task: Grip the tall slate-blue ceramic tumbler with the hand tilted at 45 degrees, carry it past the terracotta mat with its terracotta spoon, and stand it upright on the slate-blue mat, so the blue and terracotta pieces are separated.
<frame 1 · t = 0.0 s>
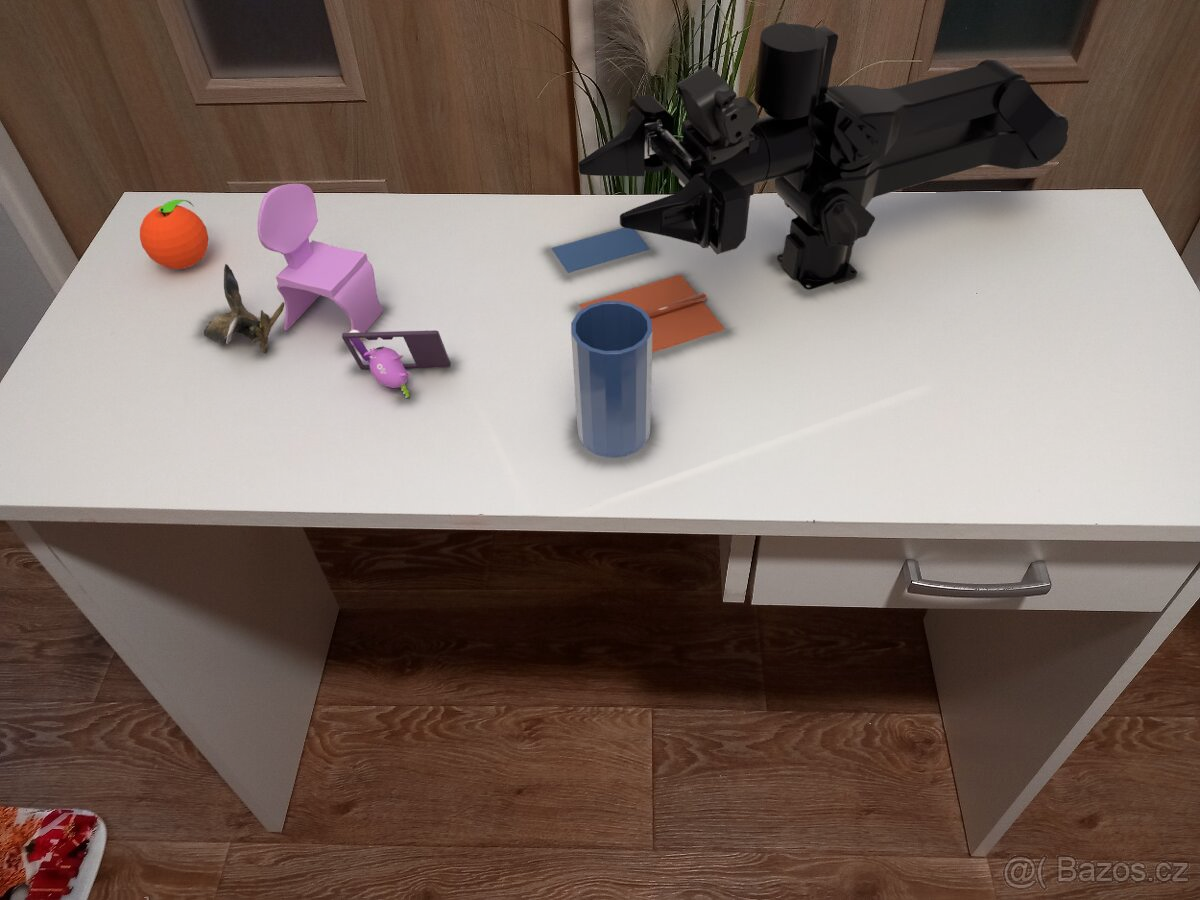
hand: (598, 193, 80), 17 cm above the table, tool horizontal, fingers open, 9 cm apart
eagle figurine: (247, 335, 94), on the table
toy chair: (336, 322, 95), on the table
terracotta mat: (650, 320, 94), on the table
clementine: (189, 261, 103), on the table
pink creature with frame: (403, 383, 89), on the table
blue tumbler: (614, 433, 83), on the table
terracotta spoon: (650, 316, 93), resting on terracotta mat
blue mat: (600, 252, 102), on the table
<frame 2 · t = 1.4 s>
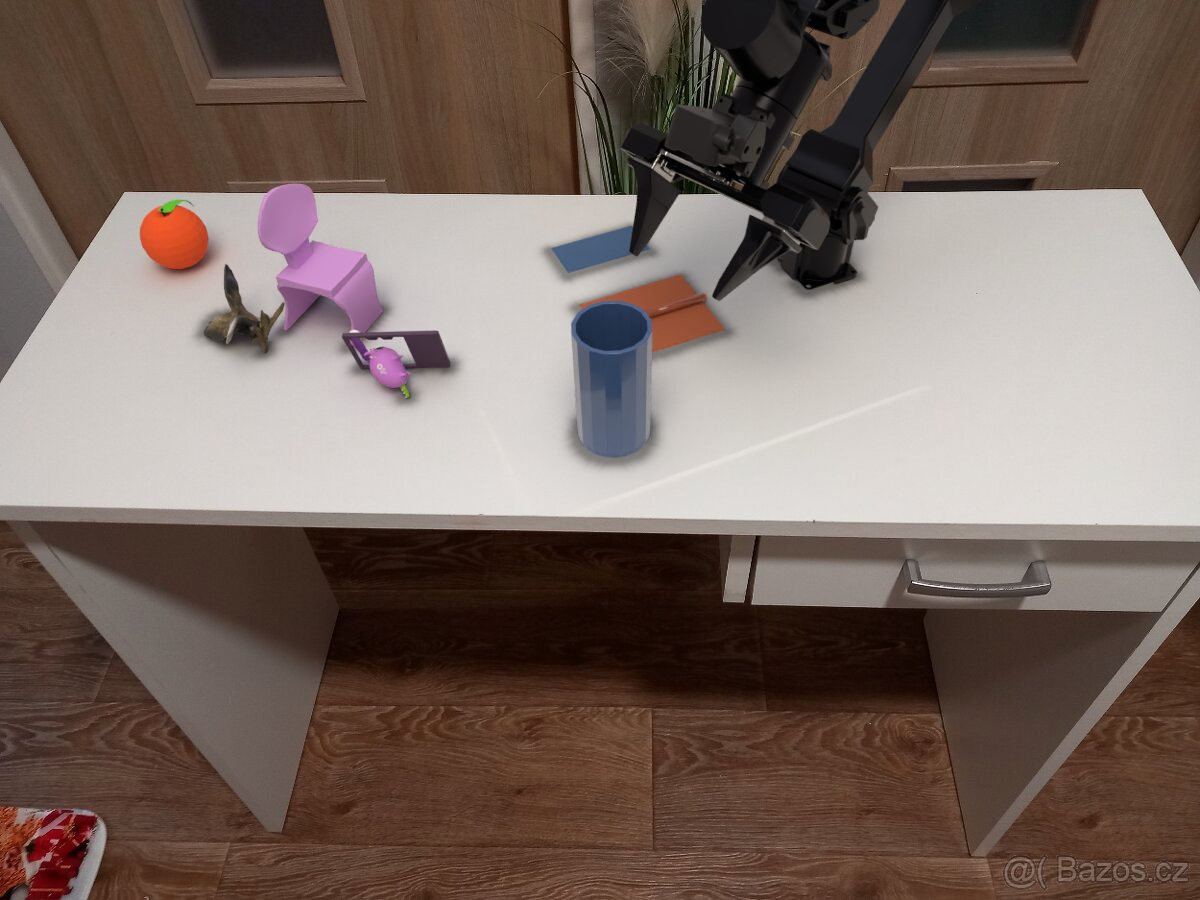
hand: (673, 276, 77), 13 cm above the table, tool tilted 45°, fingers open, 9 cm apart
nothing on the table moved.
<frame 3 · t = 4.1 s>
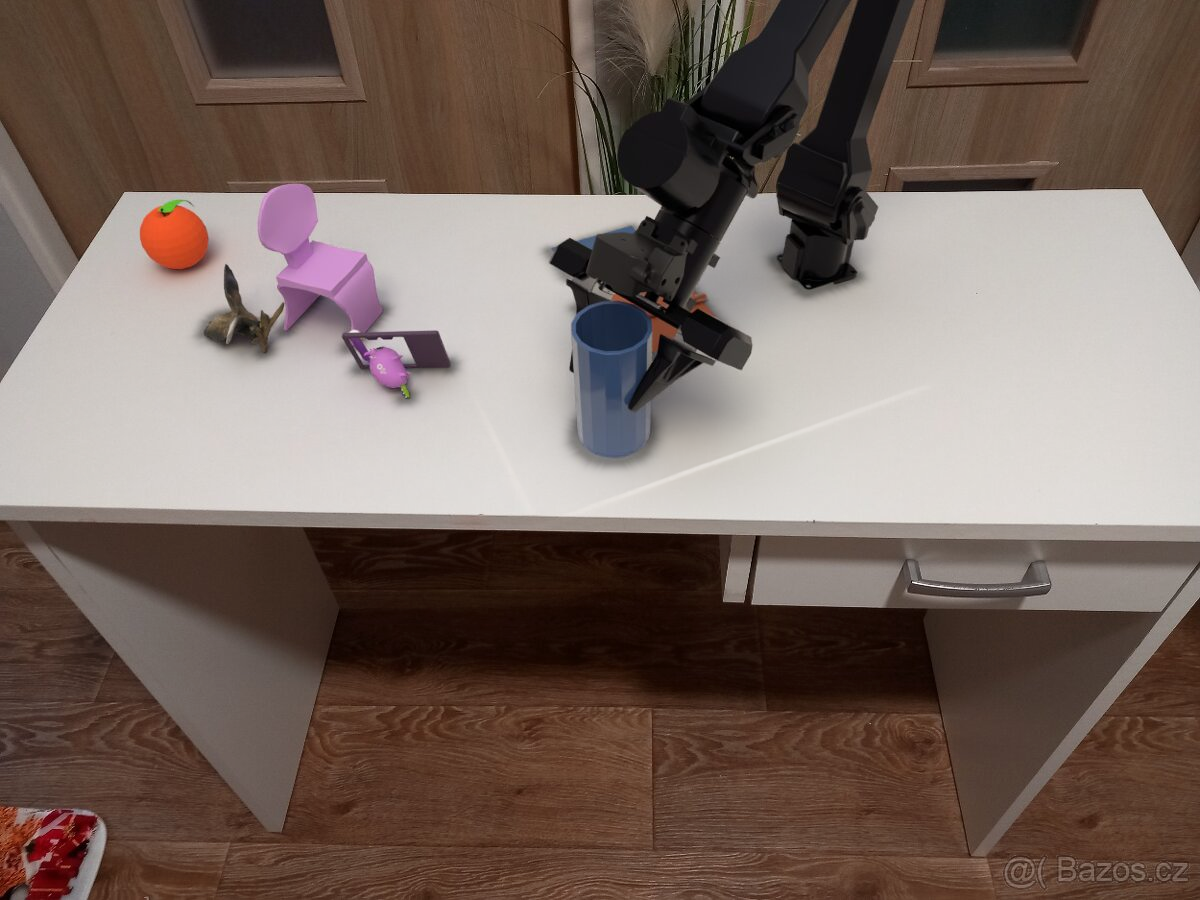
hand: (601, 390, 78), 7 cm above the table, tool tilted 45°, fingers closed on blue tumbler, 6 cm apart
blue tumbler: (614, 434, 83), on the table, touching gripper
everything else where it was.
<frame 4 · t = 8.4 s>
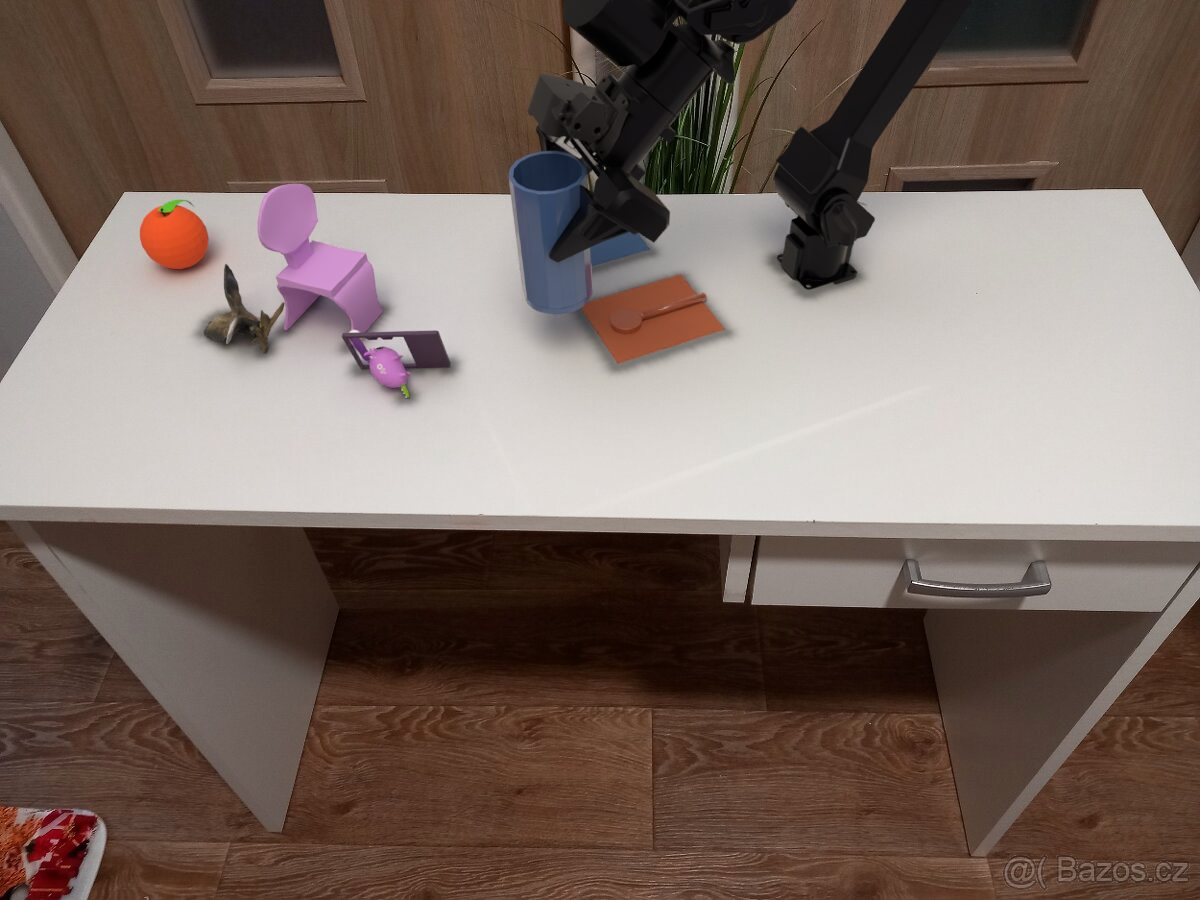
hand: (538, 238, 81), 13 cm above the table, tool tilted 45°, fingers closed on blue tumbler, 6 cm apart
blue tumbler: (558, 292, 86), point 7 cm above the table, touching gripper
everything else where it was.
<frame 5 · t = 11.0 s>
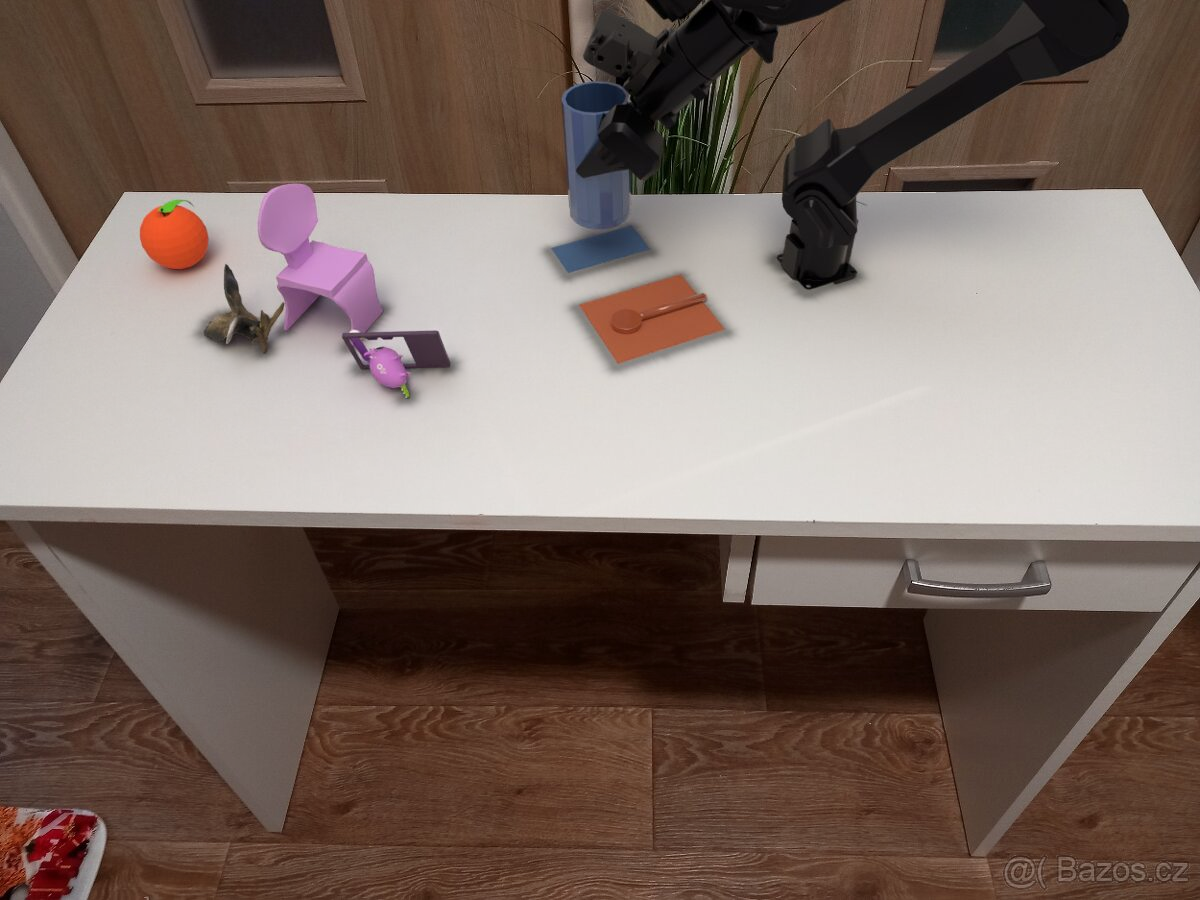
hand: (585, 155, 93), 12 cm above the table, tool tilted 45°, fingers closed on blue tumbler, 6 cm apart
blue tumbler: (600, 211, 98), point 5 cm above the table, touching gripper
everything else where it was.
when the fingers open (7 cm above the table, at t = 12.9 s): blue tumbler stays where it is, resting on blue mat.
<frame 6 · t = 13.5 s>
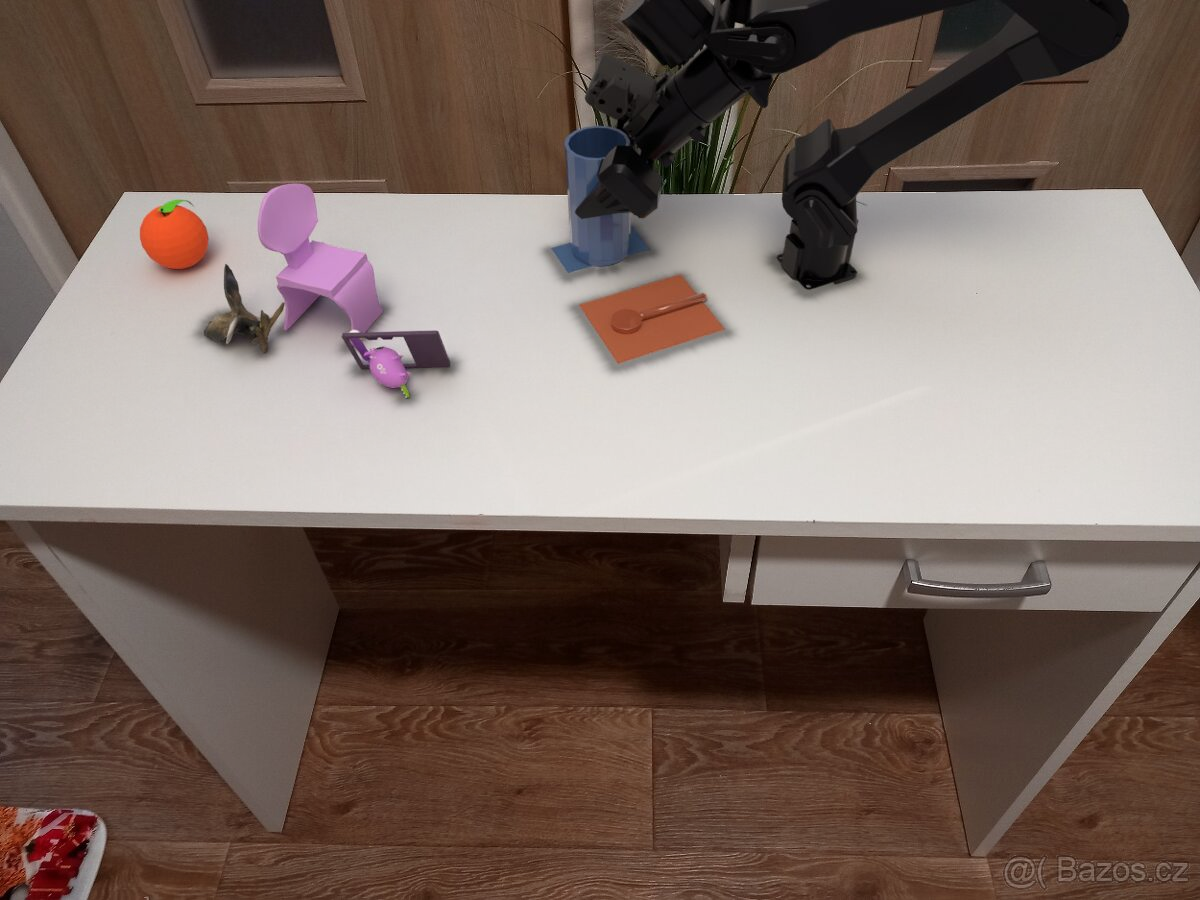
hand: (585, 190, 96), 8 cm above the table, tool tilted 45°, fingers open, 9 cm apart
blue tumbler: (600, 248, 101), resting on blue mat
everything else where it was.
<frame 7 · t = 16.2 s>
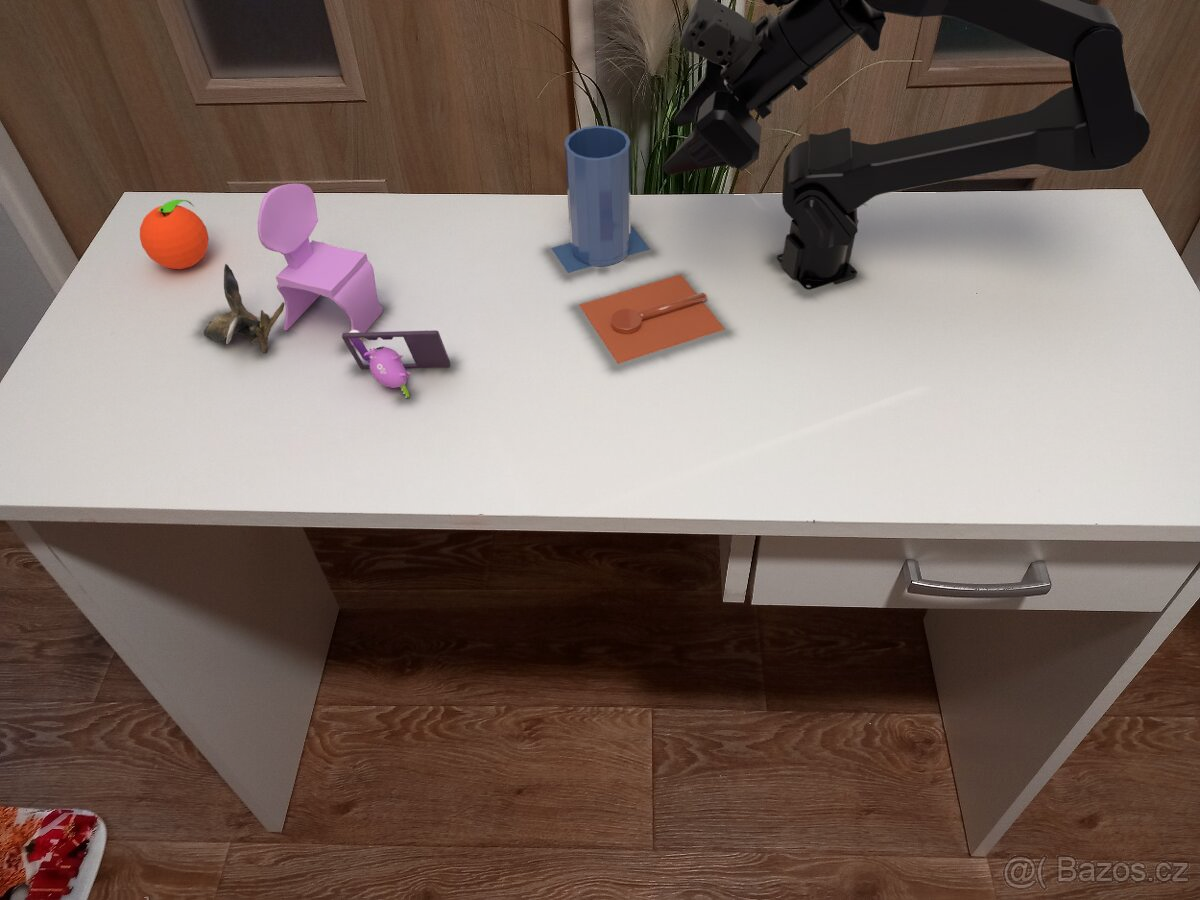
hand: (671, 146, 90), 14 cm above the table, tool tilted 45°, fingers open, 9 cm apart
nothing on the table moved.
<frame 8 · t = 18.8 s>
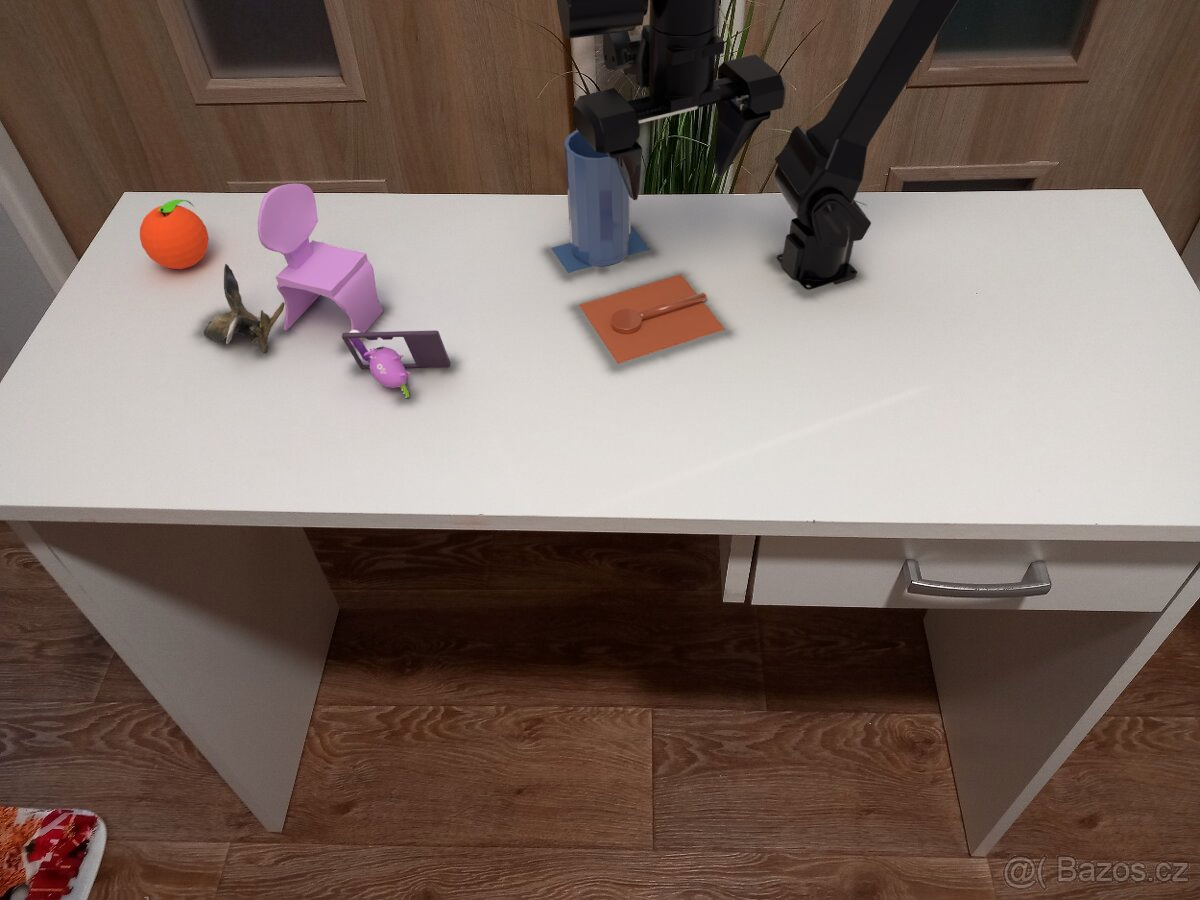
hand: (676, 186, 87), 13 cm above the table, tool pointing down, fingers open, 9 cm apart
nothing on the table moved.
at the end: blue tumbler 0.0 cm off-centre on the blue mat, point 0.5 cm above the blue mat's base; blue tumbler tilted 0°; the gripper is holding nothing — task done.
